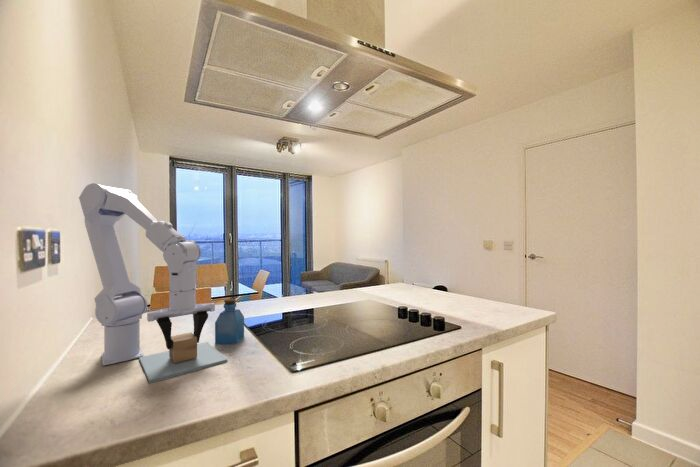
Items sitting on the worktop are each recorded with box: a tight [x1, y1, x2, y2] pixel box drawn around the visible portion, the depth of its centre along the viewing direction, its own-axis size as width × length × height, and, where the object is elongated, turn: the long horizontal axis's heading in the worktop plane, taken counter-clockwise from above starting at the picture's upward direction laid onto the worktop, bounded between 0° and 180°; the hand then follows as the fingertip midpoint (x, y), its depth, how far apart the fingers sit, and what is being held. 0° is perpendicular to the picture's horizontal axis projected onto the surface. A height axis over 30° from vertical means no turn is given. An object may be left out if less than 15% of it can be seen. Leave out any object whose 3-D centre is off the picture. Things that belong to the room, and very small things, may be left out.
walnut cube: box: [168, 331, 198, 363], centre depth 74 cm, size 5×5×5 cm
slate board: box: [138, 341, 228, 384], centre depth 74 cm, size 16×16×1 cm
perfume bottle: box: [214, 298, 245, 345], centre depth 89 cm, size 6×6×12 cm
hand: (182, 344), depth 74 cm, fingers open, 5 cm apart
